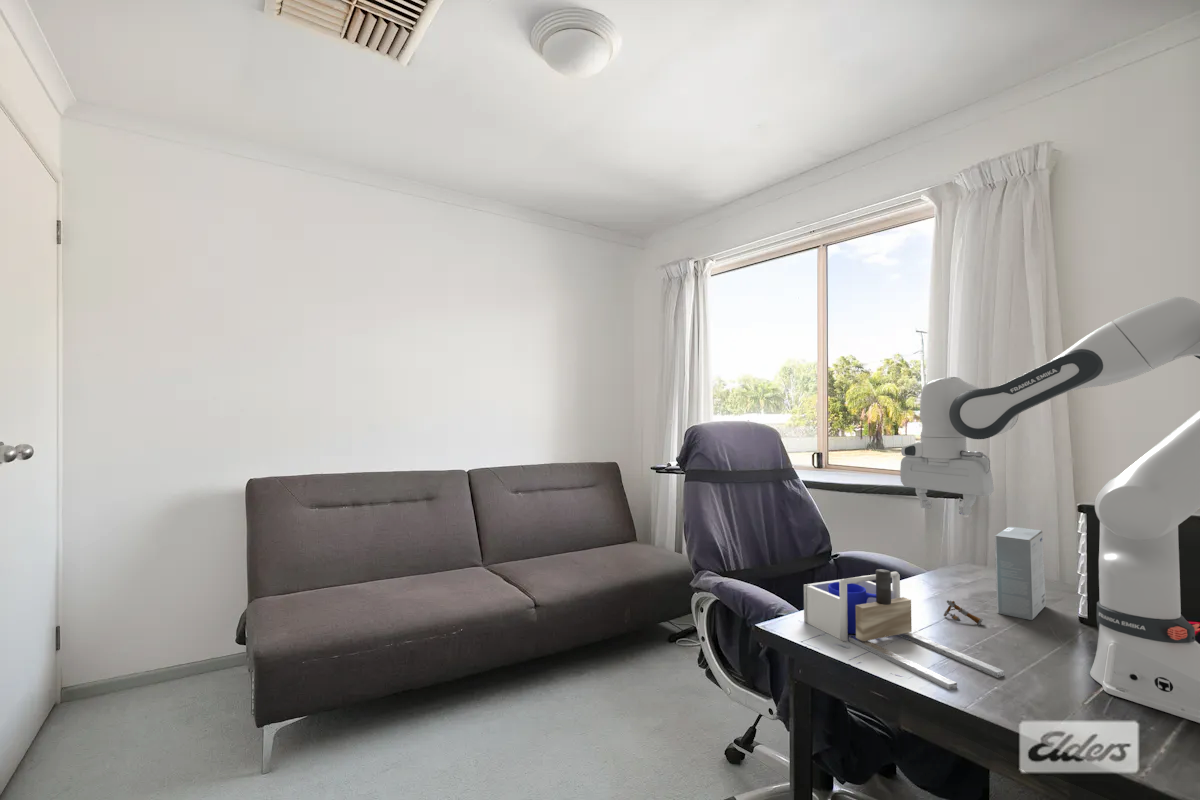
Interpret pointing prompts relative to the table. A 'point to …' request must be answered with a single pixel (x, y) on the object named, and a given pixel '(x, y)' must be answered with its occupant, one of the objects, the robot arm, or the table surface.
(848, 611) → the mug
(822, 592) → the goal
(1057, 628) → the table surface
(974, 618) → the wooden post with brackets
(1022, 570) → the hard drive box
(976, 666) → the rails
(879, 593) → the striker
